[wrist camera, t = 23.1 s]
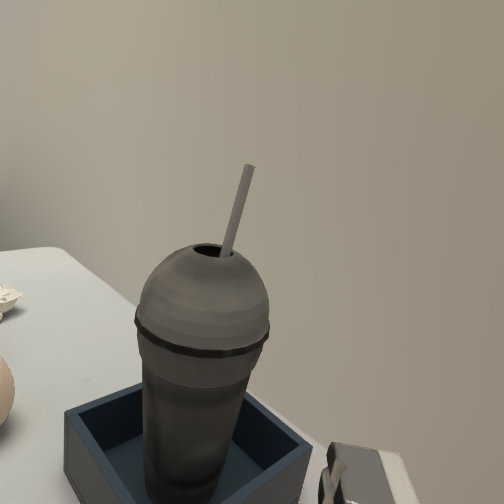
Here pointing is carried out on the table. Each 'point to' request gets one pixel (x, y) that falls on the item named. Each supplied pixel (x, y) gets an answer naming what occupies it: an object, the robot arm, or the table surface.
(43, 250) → the table surface
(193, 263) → the beverage cup
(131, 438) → the freezer basket
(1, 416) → the egg
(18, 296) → the toy car
